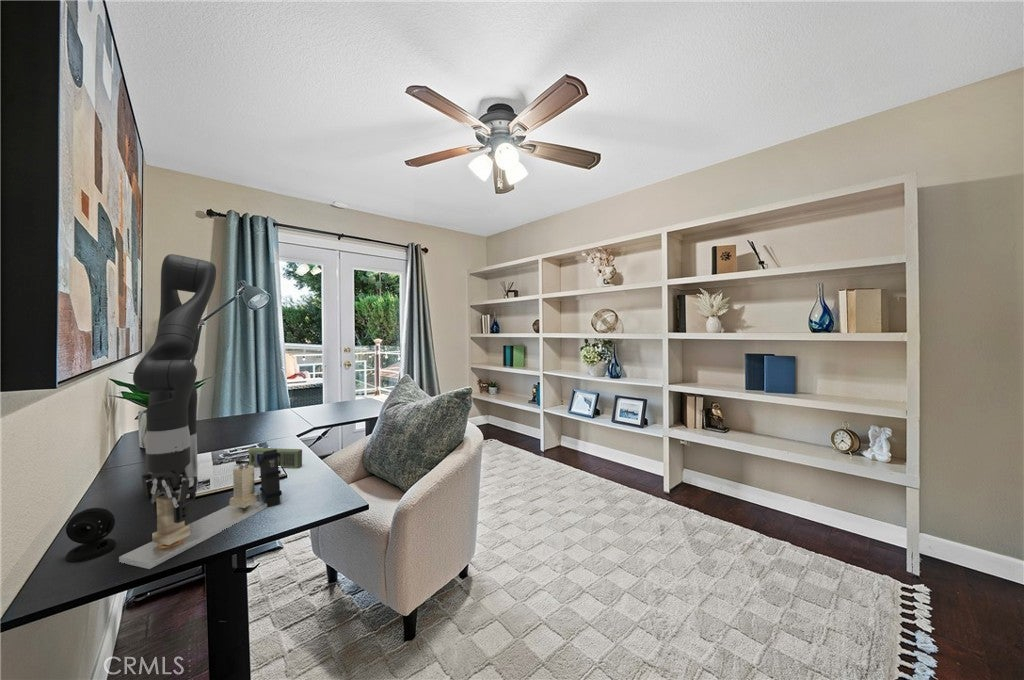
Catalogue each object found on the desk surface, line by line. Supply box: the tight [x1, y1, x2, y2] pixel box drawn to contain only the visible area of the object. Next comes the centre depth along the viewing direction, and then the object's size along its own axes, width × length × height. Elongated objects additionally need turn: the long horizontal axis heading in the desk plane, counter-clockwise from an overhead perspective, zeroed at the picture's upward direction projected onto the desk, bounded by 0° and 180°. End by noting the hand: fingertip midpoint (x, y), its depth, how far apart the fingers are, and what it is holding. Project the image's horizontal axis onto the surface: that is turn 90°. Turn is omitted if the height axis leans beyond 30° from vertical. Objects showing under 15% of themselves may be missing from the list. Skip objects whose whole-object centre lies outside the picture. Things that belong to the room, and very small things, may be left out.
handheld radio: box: [235, 447, 303, 469], centre depth 137 cm, size 7×3×25 cm
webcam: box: [65, 507, 117, 562], centre depth 84 cm, size 8×8×10 cm
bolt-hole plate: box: [118, 463, 268, 570], centre depth 93 cm, size 9×28×13 cm, turn 165°
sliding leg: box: [151, 491, 190, 545], centre depth 86 cm, size 5×4×12 cm
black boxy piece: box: [258, 449, 283, 508], centre depth 111 cm, size 4×13×15 cm, turn 42°
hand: (170, 519), depth 86 cm, fingers open, 5 cm apart
